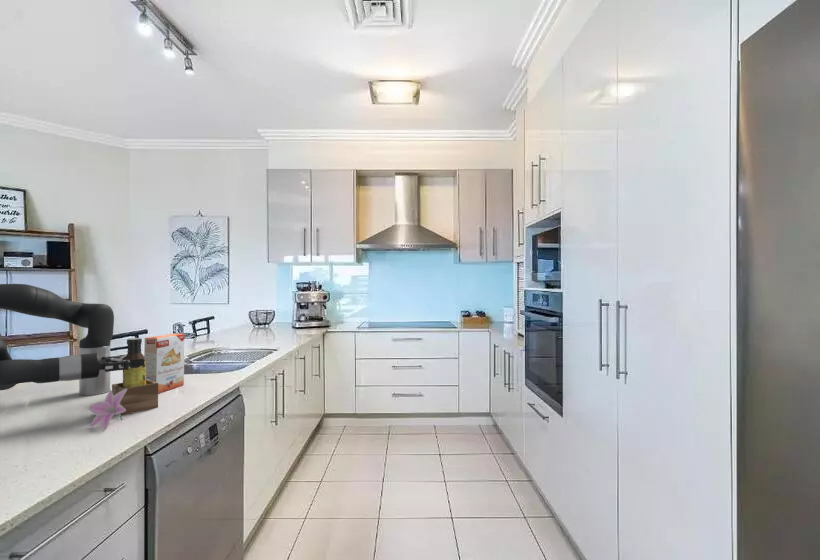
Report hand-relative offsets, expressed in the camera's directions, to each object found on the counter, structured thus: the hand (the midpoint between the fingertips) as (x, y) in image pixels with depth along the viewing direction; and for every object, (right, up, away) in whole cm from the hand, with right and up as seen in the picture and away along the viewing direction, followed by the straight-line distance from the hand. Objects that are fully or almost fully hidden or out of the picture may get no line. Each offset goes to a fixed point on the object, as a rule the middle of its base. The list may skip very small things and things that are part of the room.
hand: (142, 360), depth 134 cm
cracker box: (-6, -16, +22) cm, 27 cm away
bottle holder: (-1, -15, -1) cm, 16 cm away
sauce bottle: (-1, -13, -2) cm, 13 cm away
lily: (+1, -16, -17) cm, 23 cm away
